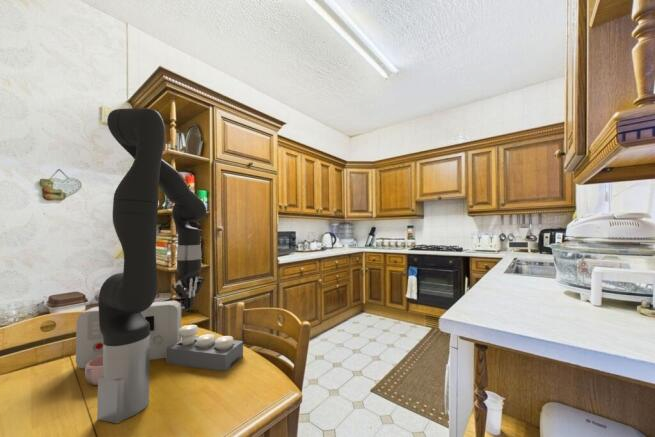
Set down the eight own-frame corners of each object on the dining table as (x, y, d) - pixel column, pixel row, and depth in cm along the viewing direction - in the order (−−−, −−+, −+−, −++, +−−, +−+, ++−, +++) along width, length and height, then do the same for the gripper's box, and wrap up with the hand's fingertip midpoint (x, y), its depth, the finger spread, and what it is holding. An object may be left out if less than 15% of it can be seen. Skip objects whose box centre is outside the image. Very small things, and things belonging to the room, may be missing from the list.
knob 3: (226, 362, 83) (226, 343, 83) (211, 361, 84) (211, 342, 85) (236, 354, 89) (236, 336, 89) (221, 352, 90) (221, 335, 90)
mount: (225, 371, 81) (225, 355, 81) (166, 363, 86) (166, 347, 86) (243, 355, 90) (243, 341, 91) (188, 349, 95) (189, 335, 96)
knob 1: (189, 350, 86) (189, 331, 87) (174, 348, 88) (175, 330, 88) (200, 342, 92) (201, 325, 92) (187, 341, 93) (187, 324, 93)
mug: (103, 391, 71) (103, 369, 72) (75, 387, 73) (75, 365, 73) (142, 368, 83) (143, 349, 83) (117, 364, 85) (117, 346, 85)
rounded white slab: (70, 374, 80) (71, 314, 80) (85, 361, 87) (86, 307, 88) (175, 359, 88) (176, 305, 89) (180, 349, 96) (181, 299, 96)
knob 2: (207, 360, 85) (207, 341, 85) (192, 358, 86) (192, 340, 86) (218, 352, 90) (218, 334, 90) (204, 350, 92) (204, 333, 92)
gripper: (183, 260, 83) (183, 315, 83) (211, 256, 96) (211, 303, 96) (164, 260, 85) (163, 313, 85) (193, 255, 98) (193, 302, 97)
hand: (188, 308), depth 90 cm, fingers closed
